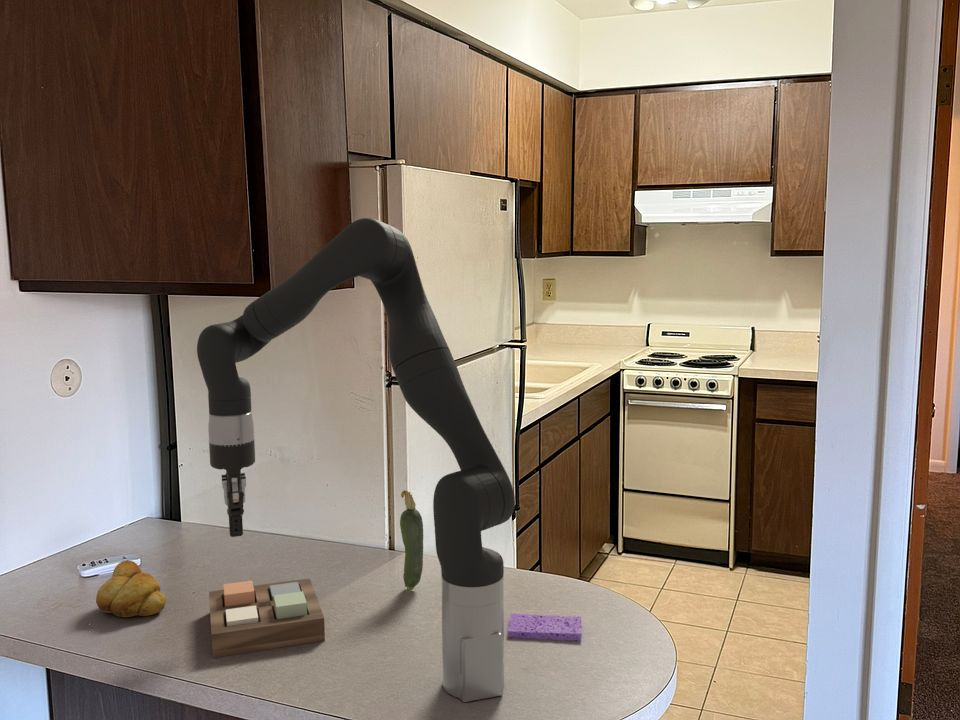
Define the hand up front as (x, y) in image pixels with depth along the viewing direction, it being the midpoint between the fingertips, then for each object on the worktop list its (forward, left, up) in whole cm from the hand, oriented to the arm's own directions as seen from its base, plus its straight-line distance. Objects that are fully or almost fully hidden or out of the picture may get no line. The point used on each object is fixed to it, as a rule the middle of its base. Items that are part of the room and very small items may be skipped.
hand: (236, 534), depth 149 cm
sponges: (-22, -49, -16) cm, 56 cm away
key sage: (-8, -8, -13) cm, 17 cm away
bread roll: (+10, +18, -16) cm, 26 cm away
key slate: (0, -8, -14) cm, 16 cm away
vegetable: (+2, -32, -16) cm, 36 cm away
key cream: (-8, 0, -14) cm, 16 cm away
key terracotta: (0, 0, -13) cm, 13 cm away
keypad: (-4, -4, -16) cm, 17 cm away
